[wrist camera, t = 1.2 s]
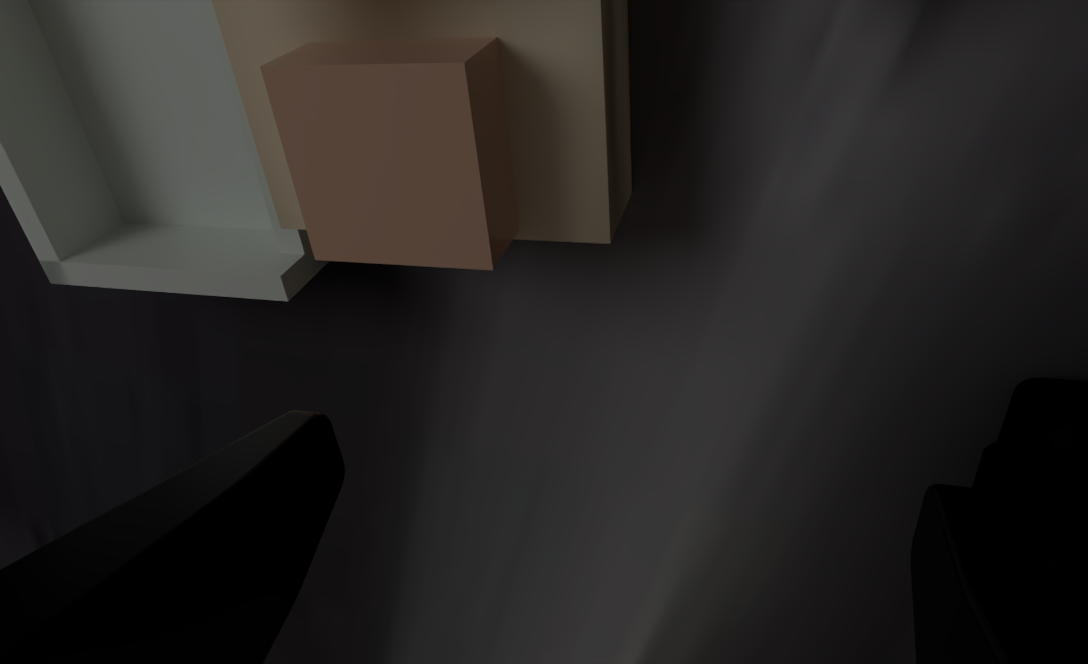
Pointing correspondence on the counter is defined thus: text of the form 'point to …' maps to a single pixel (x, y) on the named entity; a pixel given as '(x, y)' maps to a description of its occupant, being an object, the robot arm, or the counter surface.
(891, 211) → the counter surface
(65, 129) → the tray
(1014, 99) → the counter surface
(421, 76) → the tile
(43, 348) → the counter surface
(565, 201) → the tan flat block
